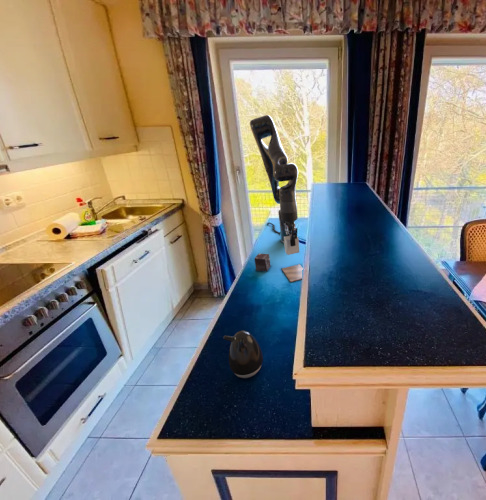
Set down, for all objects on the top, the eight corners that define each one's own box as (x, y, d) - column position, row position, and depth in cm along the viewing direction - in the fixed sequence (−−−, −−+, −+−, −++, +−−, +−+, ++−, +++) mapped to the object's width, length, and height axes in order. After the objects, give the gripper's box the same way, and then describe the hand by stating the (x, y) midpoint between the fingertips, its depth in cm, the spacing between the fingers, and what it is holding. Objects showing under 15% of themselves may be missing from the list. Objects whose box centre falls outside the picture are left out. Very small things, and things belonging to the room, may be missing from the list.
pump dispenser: (234, 358, 93) (226, 322, 86) (266, 356, 93) (260, 320, 86) (227, 384, 84) (218, 347, 77) (262, 382, 84) (255, 344, 77)
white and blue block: (287, 255, 133) (286, 237, 129) (285, 251, 136) (283, 234, 132) (299, 252, 135) (298, 235, 131) (296, 249, 138) (295, 232, 134)
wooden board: (281, 269, 145) (281, 268, 145) (299, 264, 148) (299, 264, 148) (290, 282, 133) (290, 281, 133) (309, 277, 137) (309, 276, 137)
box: (266, 271, 143) (265, 259, 140) (255, 271, 144) (253, 258, 141) (270, 266, 148) (269, 253, 145) (260, 265, 149) (258, 253, 146)
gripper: (276, 206, 130) (279, 240, 138) (285, 215, 119) (288, 251, 126) (291, 204, 133) (293, 237, 141) (302, 212, 121) (304, 248, 129)
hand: (291, 243), depth 133 cm, fingers closed on white and blue block, 4 cm apart
